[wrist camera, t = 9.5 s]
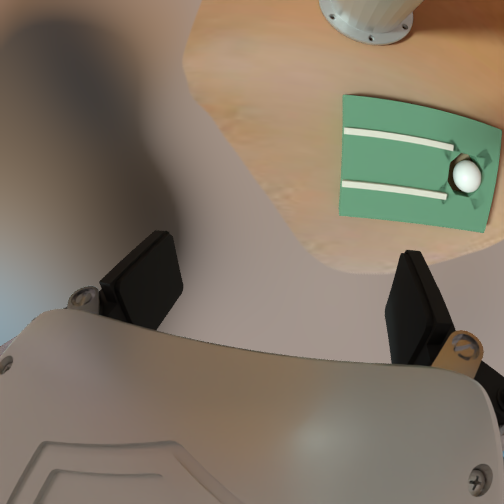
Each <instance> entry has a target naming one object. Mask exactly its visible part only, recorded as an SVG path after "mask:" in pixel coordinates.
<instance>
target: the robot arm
mask: <svg viewBox="0 0 504 504" xmlns="http://www.w3.org/2000/svg"><path fill="white" fill-rule="evenodd" d="M423 1H424V0H319V5H320V8H321V11H322V13H323V15H324V16H325V18H326V20H327V21H328V22H329V23H330V24H331V25H332V26H333V27H334V28H335V29H336V30H337V31H338V32H340V33H342V34H343V35H345V36H346V37H348V38H350V39H352V40H355V41H357V42H361V43H364V44H369V45H388V44H392V43H395V42H397V41H399V40H401V39H402V38H403V37H405V36H406V35H407V34H408V32H409V31H410V29H411V27H412V24H413V11H414V10H415V9H416V8H417V7H418V6H419V5H420V4H421V3H422V2H423ZM331 17H333V18H334V19H331ZM402 27H404V28H405V29H403V28H402ZM369 38H371V39H372V41H370V40H369ZM99 283H100V285H101V288H102V289H101V290H100V291H99V290H98V288H96V287H94V286H85V287H83V288H80V289H78V290H76V291H75V292H74V293H73V294H72V295H71V296H70V297H69V300H68V304H67V307H66V308H63V309H55V310H50V311H46V312H43V313H42V314H40V315H39V316H37V317H36V318H35V319H33V320H32V322H31V323H30V324H28V325H27V326H26V327H25V329H24V330H23V331H22V332H21V333H20V334H19V335H18V336H16V337H14V338H13V339H11V340H10V341H8V342H7V343H5V344H4V345H2V346H0V504H504V377H503V376H502V375H500V374H499V373H498V372H496V371H495V370H494V369H493V368H491V367H490V366H488V365H487V364H486V363H484V362H483V361H482V358H483V353H484V352H483V346H482V344H481V342H480V341H479V339H478V338H477V337H476V336H474V335H473V334H471V333H469V332H467V331H462V330H460V331H456V330H455V328H454V325H453V322H452V320H451V317H450V315H449V312H448V309H447V307H446V304H445V302H444V300H443V297H442V295H441V293H440V290H439V288H438V287H437V285H436V282H435V280H434V278H433V276H432V274H431V272H430V270H429V268H428V266H427V264H426V262H425V260H424V258H423V256H422V254H421V252H420V251H413V250H406V251H405V253H401V255H400V258H399V262H398V266H397V270H396V273H395V277H394V281H393V284H392V288H391V291H390V295H389V298H388V301H387V304H386V308H385V319H386V325H387V332H388V339H389V346H390V353H391V361H392V364H384V363H363V362H349V361H337V360H325V359H315V358H306V357H297V356H289V355H282V354H274V353H267V352H261V351H254V350H248V349H242V348H236V347H231V346H225V345H220V344H214V343H209V342H204V341H200V340H195V339H191V338H186V337H181V336H176V335H172V334H168V333H164V332H160V331H156V330H157V328H158V327H159V325H160V324H161V323H162V321H163V320H164V318H165V317H166V315H167V314H168V312H169V311H170V309H171V308H172V307H173V305H174V303H175V302H176V301H177V299H178V298H179V296H180V295H181V294H182V291H183V282H182V278H181V273H180V270H179V264H178V260H177V255H176V250H175V245H174V240H173V236H172V235H170V234H169V232H167V231H154V232H153V233H152V234H150V235H149V236H148V237H147V238H146V239H145V240H144V241H142V242H141V243H140V244H139V245H138V246H137V247H136V248H135V249H134V250H132V251H131V252H130V253H129V254H128V255H127V256H126V257H125V258H124V259H123V260H122V261H120V262H119V263H118V264H117V265H116V266H115V267H114V268H113V269H112V270H111V271H110V272H109V273H108V274H107V275H106V276H105V277H104V278H103V279H102V280H100V282H99Z"/></svg>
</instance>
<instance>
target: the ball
mask: <svg viewBox="0 0 504 504" xmlns="http://www.w3.org/2000/svg"><path fill="white" fill-rule="evenodd" d="M453 179H454V182H455V184H456V186H457V187H458V188H459V189H460V190H462V191H464V192H467V193H470V192H474V191H475V190H477V189H478V187H479V186H480V183H481V173H480V170H479V168H478V167H477V166H476V165H475V164H474V163H473V162H471V161H469V160H462V161H460V162H458V163H457V164H456V166H455V167H454V171H453Z"/></svg>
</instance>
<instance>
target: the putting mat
mask: <svg viewBox="0 0 504 504" xmlns="http://www.w3.org/2000/svg"><path fill="white" fill-rule="evenodd" d="M501 137H502V130H500V129H498V128H495V127H492V126H490V125H487V124H484V123H481V122H478V121H475V120H472V119H469V118H466V117H462V116H459V115H455V114H452V113H448V112H444V111H441V110H436V109H432V108H428V107H424V106H419V105H414V104H409V103H404V102H398V101H392V100H386V99H379V98H371V97H363V96H354V95H343V136H342V166H341V184H340V199H339V216H350V217H361V218H371V219H381V220H390V221H399V222H408V223H416V224H424V225H432V226H440V227H447V228H454V229H461V230H468V231H474V232H480V233H484V231H485V227H486V224H487V220H488V216H489V212H490V208H491V203H492V199H493V194H494V189H495V184H496V178H497V172H498V165H499V157H500V148H501ZM460 153H464V154H468V155H469V156H470V158H471V160H472V162H473V163H474V164H475V165H476V166H477V167H478V168H479V170H480V173H481V183H480V186H479V187H478V189H477V190H475V191H474V192H470V193H467V192H464V191H462V192H460V191H455V190H452V188H451V187H450V185H449V183H448V181H447V180H448V173H449V166H450V162H451V161H452V160H454V159H455V158H456V157H457V156H458V155H459V154H460Z"/></svg>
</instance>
